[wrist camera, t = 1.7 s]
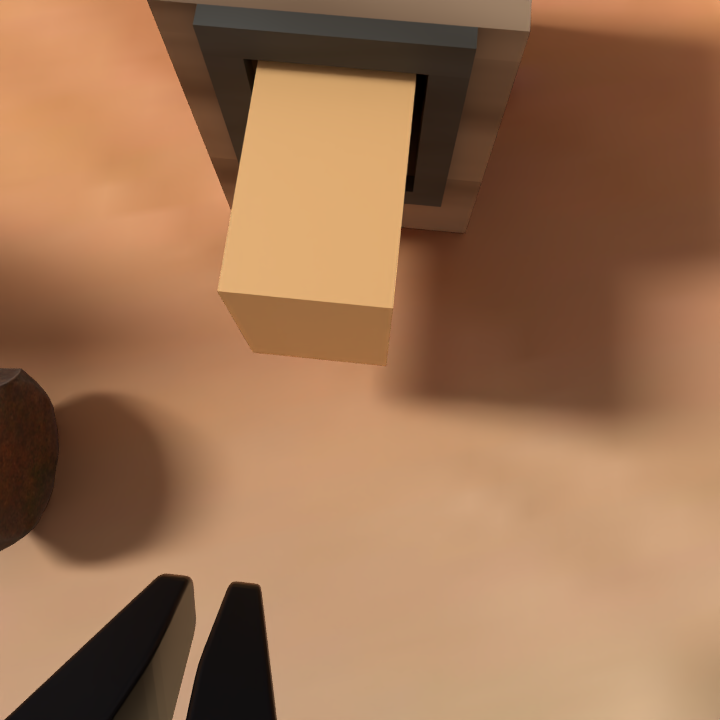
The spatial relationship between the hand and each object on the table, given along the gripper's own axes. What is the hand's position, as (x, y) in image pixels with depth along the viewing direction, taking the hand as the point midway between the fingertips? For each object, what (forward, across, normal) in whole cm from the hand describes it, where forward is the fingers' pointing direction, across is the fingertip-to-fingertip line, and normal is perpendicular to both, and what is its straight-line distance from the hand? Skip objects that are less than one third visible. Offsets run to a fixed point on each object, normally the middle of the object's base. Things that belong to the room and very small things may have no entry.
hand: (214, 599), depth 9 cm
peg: (+14, 0, -1) cm, 14 cm away
